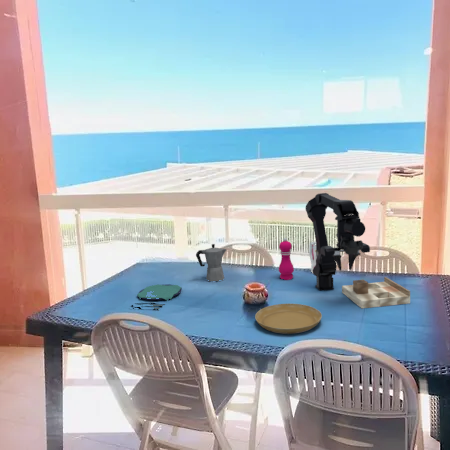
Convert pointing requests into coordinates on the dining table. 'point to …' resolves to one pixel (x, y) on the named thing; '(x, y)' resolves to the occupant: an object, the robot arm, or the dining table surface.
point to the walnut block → (360, 286)
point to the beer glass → (313, 254)
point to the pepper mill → (285, 260)
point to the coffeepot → (213, 262)
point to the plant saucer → (288, 318)
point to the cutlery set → (160, 292)
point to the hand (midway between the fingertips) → (345, 270)
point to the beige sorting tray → (379, 294)
